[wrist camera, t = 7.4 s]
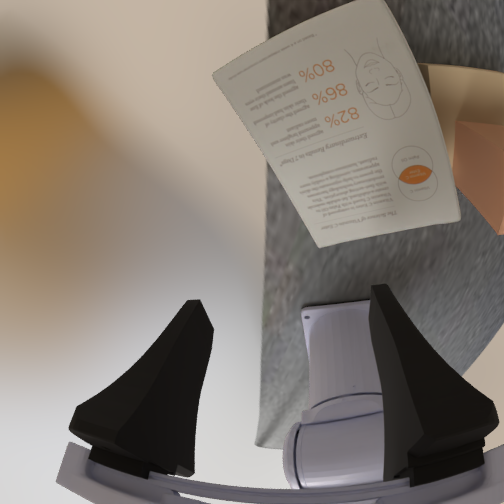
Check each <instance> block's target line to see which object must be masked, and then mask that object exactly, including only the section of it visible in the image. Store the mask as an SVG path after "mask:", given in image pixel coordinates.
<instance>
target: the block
mask: <svg viewBox="0 0 504 504" xmlns="http://www.w3.org/2000/svg"><path fill="white" fill-rule="evenodd" d="M452 172H453V177H454V182H455V186H456V187H457V188H458V189H459V190H460V191H461V192H462V193H463V194H464V195H465V196H466V197H467V198H468V200H469V201H470V202H471V203H472V204H473V205H474V206H475V207H476V209H477V210H478V211H479V212H480V213H481V214H482V216H483V217H484V218H485V219H486V220H487V222H488V223H489V224H490V225H491V227H492V228H493V229H494V230H495V232H496V233H497V234H498V235H503V234H504V126H502V125H494V124H486V123H476V122H466V121H455V142H454V156H453V167H452Z"/></svg>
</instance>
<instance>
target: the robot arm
mask: <svg viewBox="0 0 504 504" xmlns="http://www.w3.org/2000/svg"><path fill="white" fill-rule="evenodd" d="M301 316H302V322H303V328H304V334H305V340H306V346H307V352H308V358H309V410H305V411H302V421H301V422H297V423H295V424H294V425H293V426H292V428H291V430H290V431H289V432H288V434H287V436H286V438H285V442H284V447H283V467H284V473H285V476H286V479H287V481H288V483H289V484H290V486H291V489H263V488H249V487H237V486H227V485H220V484H212V483H205V482H200V481H194V480H188V479H182V478H178V477H173V476H169V475H167V474H170V475H174V476H175V475H178V476H183V477H190V476H192V475H193V474H194V473H195V470H194V467H195V461H194V459H195V458H194V457H195V452H194V451H195V434H196V423H197V413H198V406H199V399H200V394H201V389H202V386H203V381H204V377H205V374H206V370H207V366H208V362H209V358H210V354H211V350H212V342H213V333H214V328H213V326H212V324H211V322H210V320H209V318H208V316H207V313H206V311H205V309H204V307H203V305H202V303H201V301H200V300H187V301H186V303H185V304H184V305H183V306H182V308H181V309H180V310H179V312H178V313H177V314H176V316H175V317H174V318H173V319H172V321H171V322H170V323H169V325H168V326H167V327H166V328H165V330H164V331H163V332H162V333H161V335H160V336H159V337H158V339H157V340H156V341H155V342H154V343H153V344H152V345H151V347H150V348H149V349H148V350H147V351H146V352H145V354H144V355H143V356H142V357H141V358H140V359H139V360H138V361H137V362H136V363H135V364H134V365H133V366H132V367H131V368H130V369H129V370H128V371H126V372H125V373H124V374H123V375H122V376H120V377H119V378H118V379H117V380H116V381H115V382H113V383H112V384H111V385H110V386H108V387H107V388H105V389H104V390H102V391H101V392H100V393H98V394H97V395H95V396H94V397H92V398H90V399H89V400H87V401H85V402H83V403H82V404H80V405H78V406H77V407H76V410H75V412H74V415H73V417H72V420H71V422H70V425H69V430H70V432H72V433H73V434H74V435H76V436H77V437H79V438H80V439H82V440H84V441H85V442H87V443H89V444H90V445H92V449H91V450H89V449H87V448H85V447H82V446H80V445H77V444H75V443H72V442H69V444H68V446H67V449H66V452H65V455H64V458H63V461H62V464H61V467H60V470H59V473H58V476H57V479H56V482H57V483H58V484H60V485H62V486H63V487H65V488H67V489H69V490H70V491H72V492H74V493H76V494H78V495H80V496H81V497H83V498H85V499H87V500H89V501H91V502H93V503H95V504H209V503H204V502H201V501H199V500H193V499H189V498H185V497H181V496H180V494H179V493H178V492H180V493H185V494H190V495H195V496H200V497H206V498H212V499H219V500H226V501H235V502H244V503H256V504H500V503H502V502H504V444H503V445H501V446H498V447H496V448H494V449H491V450H489V451H487V452H485V453H483V449H482V447H484V446H485V440H484V437H486V436H487V435H488V434H489V433H491V432H492V431H493V430H494V429H495V428H496V427H497V426H498V424H499V419H498V414H497V411H496V408H495V405H494V403H493V401H492V400H491V399H489V398H488V397H486V396H485V395H484V394H482V393H481V392H479V391H478V390H477V389H475V388H474V387H473V386H472V385H471V384H469V383H468V382H467V381H466V380H465V379H464V378H462V377H461V376H460V375H459V374H458V373H457V372H456V371H455V370H454V369H453V368H452V367H450V366H449V365H448V364H447V363H446V361H445V360H444V359H443V358H442V357H441V356H440V355H439V354H438V353H437V352H436V351H435V350H434V349H433V348H432V346H431V345H430V344H429V343H428V342H427V340H426V339H425V338H424V337H423V335H422V334H421V333H420V332H419V330H418V329H417V328H416V327H415V325H414V324H413V322H412V321H411V320H410V318H409V317H408V316H407V314H406V313H405V311H404V310H403V308H402V307H401V305H400V304H399V302H398V301H397V299H396V298H395V296H394V295H393V293H392V292H391V290H390V288H389V287H388V285H387V284H380V285H371V297H370V300H366V301H358V302H350V303H342V304H333V305H323V306H313V307H305V308H303V309H302V310H301Z"/></svg>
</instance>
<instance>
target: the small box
mask: <svg viewBox="0 0 504 504" xmlns="http://www.w3.org/2000/svg"><path fill="white" fill-rule="evenodd" d="M212 76H213V79H214V81H215V82H216V84H217V86H218V87H219V88H220V90H221V91H222V93H223V94H224V95H225V97H226V98H227V100H228V101H229V103H230V104H231V106H232V107H233V109H234V110H235V112H236V113H237V115H238V116H239V118H240V119H241V120H242V122H243V123H244V125H245V127H246V128H247V130H248V131H249V133H250V134H251V136H252V137H253V139H254V141H255V142H256V144H257V145H258V147H259V148H260V150H261V151H262V153H263V155H264V156H265V158H266V159H267V161H268V163H269V164H270V166H271V168H272V169H273V171H274V172H275V174H276V176H277V177H278V179H279V181H280V182H281V184H282V186H283V187H284V189H285V191H286V192H287V194H288V196H289V198H290V199H291V201H292V203H293V205H294V206H295V208H296V210H297V211H298V213H299V215H300V217H301V218H302V220H303V222H304V223H305V225H306V227H307V229H308V230H309V232H310V234H311V236H312V237H313V239H314V241H315V243H316V244H317V246H318V247H319V248H322V247H326V246H331V245H334V244H337V243H342V242H347V241H351V240H357V239H362V238H366V237H372V236H376V235H382V234H387V233H392V232H398V231H403V230H408V229H413V228H418V227H424V226H429V225H434V224H441V223H442V224H447V223H452V222H457V221H460V219H461V214H460V207H459V202H458V197H457V191H456V186H455V182H454V177H453V172H452V168H451V164H450V160H449V156H448V152H447V148H446V144H445V141H444V137H443V134H442V130H441V127H440V124H439V120H438V117H437V114H436V111H435V108H434V105H433V102H432V100H431V97H430V94H429V92H428V89H427V86H426V84H425V81H424V79H423V77H422V74H421V72H420V69H419V67H418V65H417V62H416V60H415V58H414V56H413V53H412V51H411V49H410V47H409V45H408V43H407V41H406V39H405V37H404V35H403V33H402V31H401V29H400V27H399V25H398V23H397V22H396V20H395V18H394V16H393V14H392V12H391V11H390V9H389V7H388V6H387V4H386V2H385V1H384V0H355V1H353V2H350V3H347V4H345V5H342V6H339V7H337V8H334V9H332V10H329V11H327V12H325V13H322V14H320V15H318V16H315V17H313V18H311V19H309V20H306V21H304V22H302V23H300V24H298V25H296V26H294V27H292V28H290V29H288V30H286V31H284V32H282V33H280V34H278V35H276V36H274V37H272V38H271V39H269V40H267V41H265V42H263V43H261V44H260V45H258V46H256V47H254V48H253V49H251V50H249V51H247V52H246V53H244V54H242V55H240V56H239V57H237V58H236V59H234V60H232V61H231V62H229V63H228V64H226V65H225V66H223V67H222V68H220V69H218V70H217V71H215V72H214V73H213V74H212Z"/></svg>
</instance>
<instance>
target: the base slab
mask: <svg viewBox="0 0 504 504" xmlns="http://www.w3.org/2000/svg"><path fill="white" fill-rule="evenodd" d="M417 65H418V67H419V69H420V72H421V74H422V77H423V79H424V81H425V84H426V86H427V89H428V92H429V94H430V97H431V100H432V102H433V105H434V108H435V111H436V114H437V117H438V120H439V124H440V127H441V130H442V134H443V137H444V141H445V144H446V148H447V152H448V156H449V160H450V164H451V168H452V167H453V156H454V142H455V121H466V122H476V123H486V124H494V125H502V126H504V73H502V72H498V71H492V70H486V69H479V68H472V67H464V66H454V65H443V64H427V63H417Z"/></svg>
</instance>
